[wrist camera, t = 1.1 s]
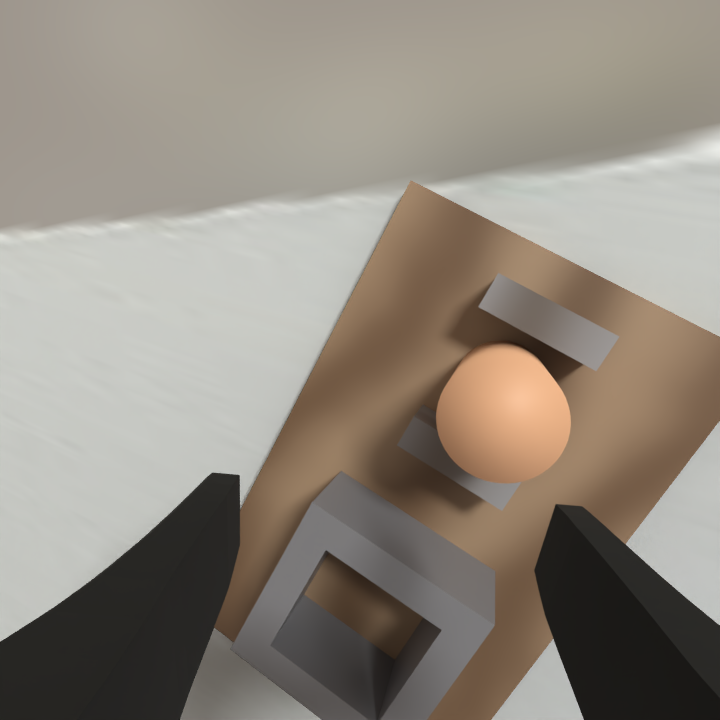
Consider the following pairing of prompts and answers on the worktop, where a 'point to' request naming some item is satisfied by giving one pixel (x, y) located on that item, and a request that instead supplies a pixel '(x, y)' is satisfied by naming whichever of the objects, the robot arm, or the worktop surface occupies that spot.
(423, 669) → the socket
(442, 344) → the dock board
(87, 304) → the worktop surface
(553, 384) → the peg
